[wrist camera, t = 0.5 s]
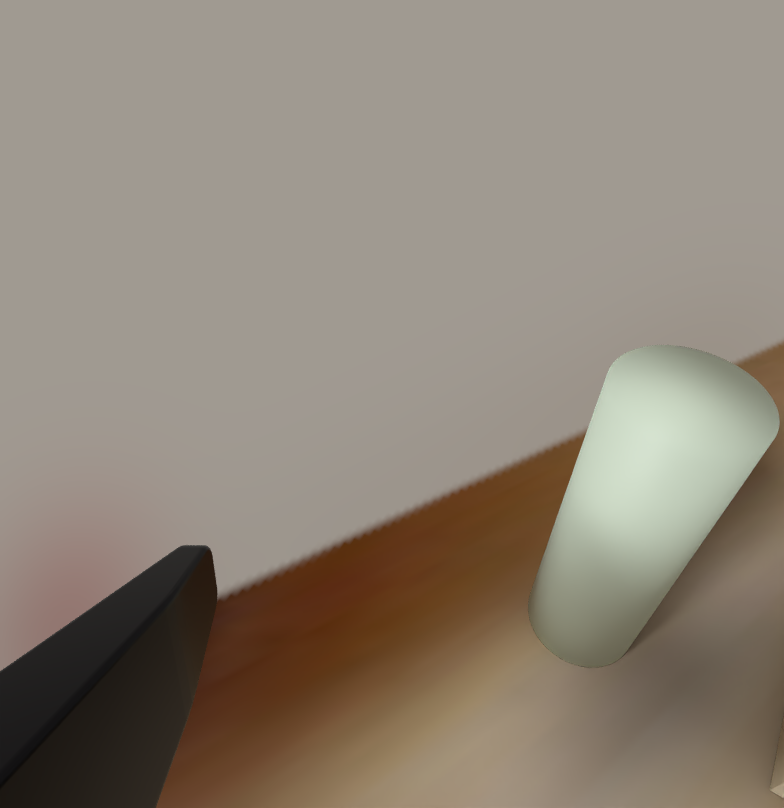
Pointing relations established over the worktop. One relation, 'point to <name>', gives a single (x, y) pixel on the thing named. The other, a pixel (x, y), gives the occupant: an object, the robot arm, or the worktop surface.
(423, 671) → the worktop surface
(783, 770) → the board
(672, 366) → the sage pin
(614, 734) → the worktop surface
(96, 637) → the robot arm
